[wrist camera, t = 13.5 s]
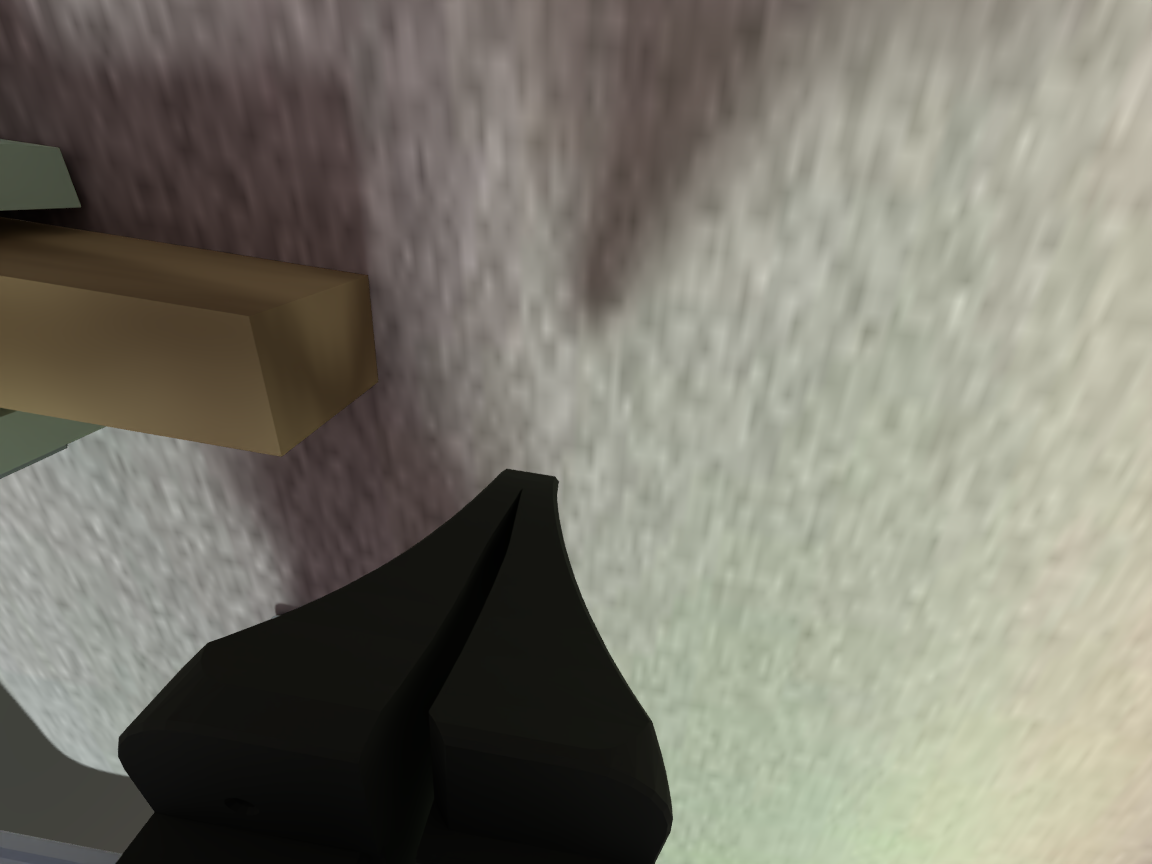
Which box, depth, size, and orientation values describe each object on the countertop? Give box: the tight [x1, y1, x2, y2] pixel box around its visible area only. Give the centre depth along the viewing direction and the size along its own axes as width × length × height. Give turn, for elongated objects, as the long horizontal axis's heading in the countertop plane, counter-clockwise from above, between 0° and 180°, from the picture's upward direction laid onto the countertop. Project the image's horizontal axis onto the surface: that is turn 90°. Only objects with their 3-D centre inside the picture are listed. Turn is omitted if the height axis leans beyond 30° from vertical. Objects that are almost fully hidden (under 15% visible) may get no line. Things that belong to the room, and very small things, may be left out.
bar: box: [0, 217, 378, 457], centre depth 13 cm, size 4×12×5 cm, turn 83°
